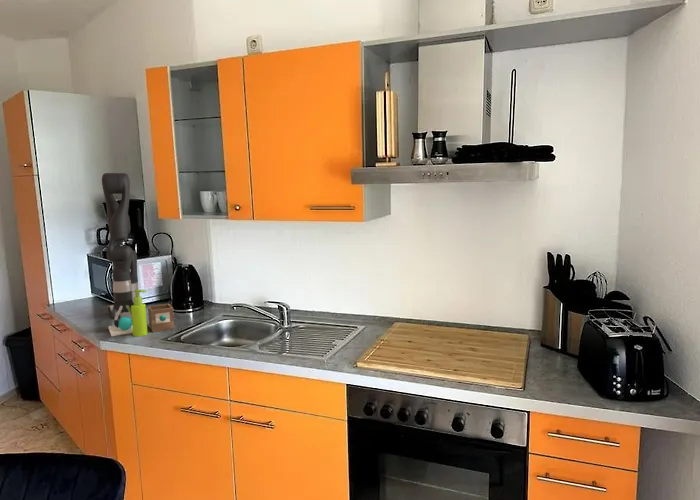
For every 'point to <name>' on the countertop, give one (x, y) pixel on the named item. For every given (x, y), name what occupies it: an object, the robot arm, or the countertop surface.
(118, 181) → the robot arm
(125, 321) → the ball
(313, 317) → the countertop surface
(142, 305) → the soap dispenser
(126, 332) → the dish
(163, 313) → the box
